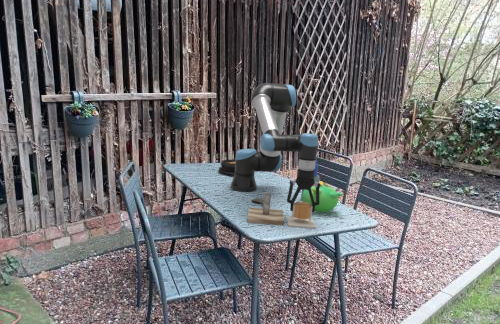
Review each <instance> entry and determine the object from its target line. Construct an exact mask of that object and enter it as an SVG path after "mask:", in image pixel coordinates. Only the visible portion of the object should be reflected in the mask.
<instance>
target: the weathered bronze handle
mask: <svg viewBox="0 0 500 324" xmlns="http://www.w3.org/2000/svg"><path fill="white" fill-rule="evenodd" d="M251 201H252V202H257V203H260V204H262V205H263V204H264V198H262V197H254V198H252V199H251Z"/></svg>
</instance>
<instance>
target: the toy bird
mask: <svg viewBox="0 0 500 324" xmlns="http://www.w3.org/2000/svg"><path fill="white" fill-rule="evenodd" d="M319 183H320V188H319V205H316V206H315V211H314V213H315V212H316V213H325V212H330V211H332V210H334V209H335V208H336V207H337V205H338V203H339V198H340V197H343V195H344V193H343V192H337V190H336V189H335V188H333V187H332V186H331V185H328V184H325V183H324V182H323V181H321V180H320V181H319ZM311 191H312V195H313V198H314V202H316V187H315V184H314V185H313V186H312V187H311ZM301 194H302V193H301ZM302 200H303V201H302V202H307V203H310V204H311V205H312V202H311V198H310V195H309V191H308V190H304V192H303V194H302Z"/></svg>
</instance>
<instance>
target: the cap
mask: <svg viewBox="0 0 500 324" xmlns="http://www.w3.org/2000/svg"><path fill="white" fill-rule="evenodd" d="M294 203H295V212H294V217H295V218H298V219H309V218H310V211H311V204H310V203H307V202H303V201H301V200H300V201H296V202H294Z"/></svg>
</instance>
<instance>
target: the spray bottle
mask: <svg viewBox="0 0 500 324" xmlns="http://www.w3.org/2000/svg"><path fill="white" fill-rule="evenodd" d="M318 170H319V163H318V156H317V155H316V164H315V169H314V171H315V174H314V181H315V182H317V183H318V182H321V180H320V179H321V178H320V174H318V172H319V171H318ZM304 190H305V189H304ZM304 190H301V194H300V195H301V196H300V201H301V202H303V200H302V194H303V192H304Z"/></svg>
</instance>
